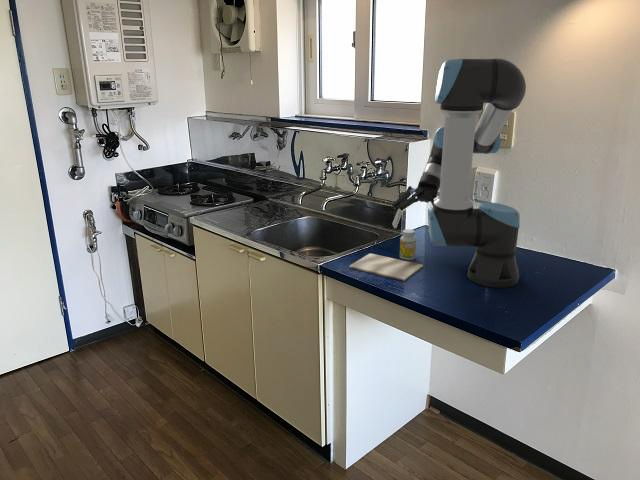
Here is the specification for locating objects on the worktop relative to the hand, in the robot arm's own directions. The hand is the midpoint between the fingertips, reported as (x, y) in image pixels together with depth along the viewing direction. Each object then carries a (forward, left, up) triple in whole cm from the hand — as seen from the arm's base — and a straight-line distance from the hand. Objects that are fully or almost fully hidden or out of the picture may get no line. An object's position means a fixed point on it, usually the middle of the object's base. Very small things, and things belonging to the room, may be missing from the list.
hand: (411, 229), depth 180 cm
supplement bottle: (-1, +4, -9) cm, 10 cm away
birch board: (+1, +16, -9) cm, 18 cm away
